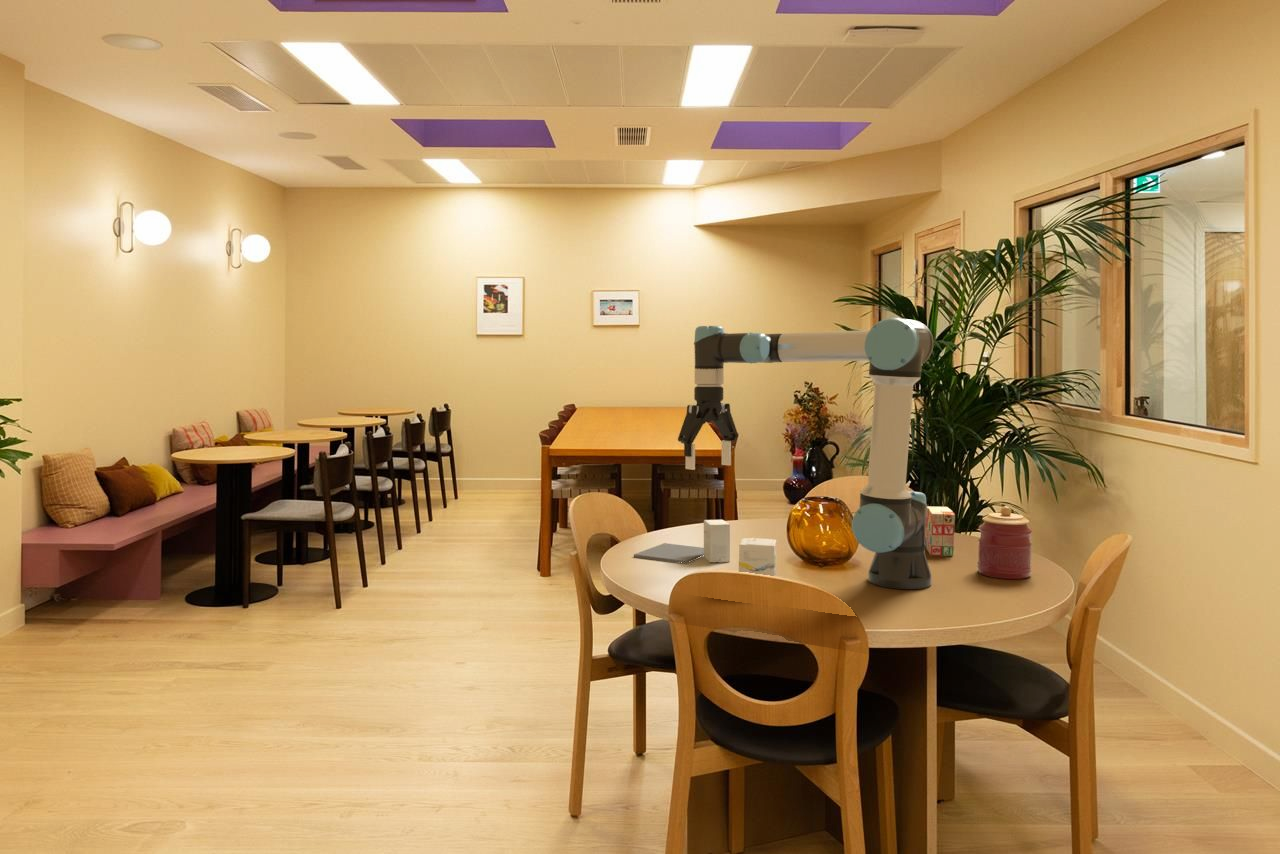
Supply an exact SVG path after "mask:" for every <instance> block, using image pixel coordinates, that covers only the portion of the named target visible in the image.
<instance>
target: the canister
mask: <svg viewBox="0 0 1280 854" xmlns="http://www.w3.org/2000/svg"><path fill="white" fill-rule="evenodd" d="M982 521H983V523H982V524H980V525H979V526H978V529H979V531H980V536H979V538H978V539H977V541H978V556H977V557H978V559H977V560H978V561H977V566H976V567H977V570H978V573H979V574H981V575H984V576H986V577H991V578H995V579H996V578H997V579H1004V580H1021V579H1027V578H1029V577H1031V576H1030V575H1031V572H1032V566H1031V564H1032V563H1031V562H1032V561H1031V559H1032V546H1033V542H1032V541H1031V534H1033V532H1034V531H1033V529H1032V528H1031V527H1029V524H1030V520H1029V519H1027V518H1026V517H1024V515H1021V514H1019V513H1018V514H1017V513H1012V508H1011V507H1009V506H1008V505H1007V506H1006V505H1005V506H1002V507H1001V508H1000V512H990V513H988V514H987V515H985V516H983V517H982Z"/></svg>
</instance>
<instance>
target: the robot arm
mask: <svg viewBox="0 0 1280 854" xmlns="http://www.w3.org/2000/svg"><path fill="white" fill-rule="evenodd" d="M694 330H695V331H694V343H693V345H694V385H696V386H694V401H696V404H687V406H686V414H685V417H684V420H683V423H682V426H681V429H680V432H679V435H678V437H677V441H678V442H680V443H681V444H683V449H684V451H683V455H684V457H685V470H692V471H693V470H694V471H695V470H696V444H694V442H695V440H696V438H697V436H698V434H699V432H700V431H701V429H702V427H703V425H705V424H706V423H709V422H713V423H714V424H715V427H716V428H717V429H718V431H719V433H720V435H721V436H722V438H723V440H721V466H732V452H733V441H734V442H735V441H736V440H737V439H736V438H738V437H739V433H738V430H737V427H736V425H735V422H734V419H733V416H732V413H731V405H730V403H726V402H725V403H721V402H722V401H724V387H723V386H722V385H724V365H725V364H726V363H727V364H728V363H734V364H738V363H739V364H757V363H758V364H759V363H760V364H761V363H764V364H773V363H802V362H803V363H804V362H806V363H807V362H808V363H809V362H810V363H812V362H865V361H866V362H869V368H868V370H869V371H868V376H869V377H870V379H871V380H872V382H873V384H874V391H873V402H872V403H873V406H872V416H871V417H872V420H871V421H872V422H871V434H870V446H869V447H870V449H869V459H868V461H869V462H868V472H867V473H868V474H867V484H866V486H864V487H863V488H862V489H861V490H860V493H859V495H860V496H859V506H858V507H859V508H858V509H857V510H856V511H855V513H854V514H853V518H852V521H851V529H852V534H853V536H854V538H855V539H856V542H858V544H860V546H862V547H863V548H865V549H866V550H867V551H869V552H872V553H874V556H873V558H872V561H871V564H870V567H869V570H868V577H867V580H868V582H869V583H871V584H872V585H875V586H878V587H882V588H883V587H884V588H887V589H888V588H889V589H896V590H897V589H898V590H899V589H900V590H920V589H926V588H929V587H931V585H932V580H933V579H932V578H933V577H932V576H933V575H932V572H931V570H930V565H929V562H928V559H927V555H926V547H925V532H926V508H927V506H928V504H927V497H926V493H923V492H922V491H921V492H920V491H911V490H908V489H907V488H906V487H907V486H906V484H907V472H908V460H909V459H908V458H909V457H908V456H909V446H910V434H911V433H910V432H911V431H910V430H911V420H912V419H911V418H912V417H911V416H912V406H913V405H912V404H913V393H914V385H915V384H916V383H917V382H918V381H920V380H921V376H922V367H923V364H924V363H926V362H927V361H928V359H929V358H930V357H931V355H932V353H933V349H934V344H935V343H934V336H933V334H932V331H931V330H930V329H929V327H928V326H927V325H926V324H924V323H922V321H919V320H915V319H908V318H903V317H897V316H896V317H890V318H886V319H882V320H880V321H878V322H876V323H875V324H874V325H872V326H871V328H870V329H864V330H863V329H862V330H843V331H842V330H841V331H839V330H838V331H815V332H814V331H813V332H811V331H810V332H809V331H808V332H789V333H788V332H787V333H763V332H753V331H752V332H737V333H736V332H735V333H725V329H724V327H723V326H721V325H700V326H699V325H698V326H697V327H695V329H694ZM724 363H725V364H724Z"/></svg>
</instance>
